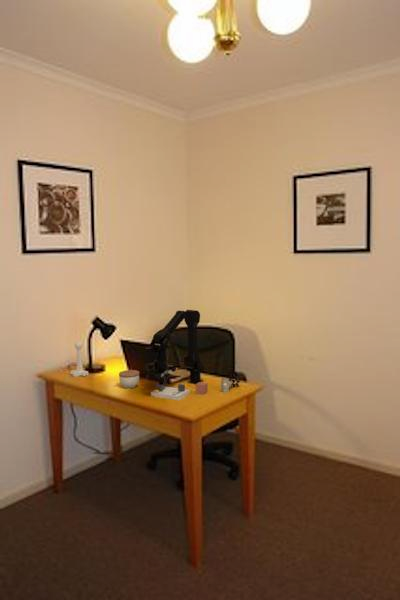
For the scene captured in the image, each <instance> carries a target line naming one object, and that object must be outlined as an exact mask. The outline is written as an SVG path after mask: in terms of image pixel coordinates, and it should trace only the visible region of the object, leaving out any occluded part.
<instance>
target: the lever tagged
mask: <svg viewBox="0 0 400 600" xmlns="http://www.w3.org/2000/svg"><path fill="white" fill-rule="evenodd" d="M155 386H156V387H155V388H156V389H155V390H159V391H163V385H162V384H159V383H157V384H156V385H155Z"/></svg>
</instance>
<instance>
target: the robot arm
mask: <svg viewBox="0 0 400 600" xmlns="http://www.w3.org/2000/svg"><path fill="white" fill-rule="evenodd" d="M200 320H201V313H200V311H198V310H195V309H186V310H177V311H175V314H174V315H173V316H172V317H171V319H170V320H169V321H168V322H167V324H165V326H164V327H163V328H162V329H160V330H158V331H156V333H154V334H153V336H152V339H151V342H150V343H149V345H148V347H145V348H144V351H143V352H142V355H141V356H142V357H141V358H142V360H143V361H144V362H146V363H145V364H144V370H145V371H147V374H146V379H148V380H155V381H156V380H157V381H158V384H162V385H163V388H164V386H165V387H166V384H167V381H168V379H169V377H170V375H171V373H168V372H169V371H171V372H173V373H175V371H176V370H177V367H176V365H173V364H168V363H169V361H170V359H168V349H171V346H170V345H168V344H169V342H170V341H171V338H172V335H173V333H174V332H175V330H176V329H177V328H178V327H179V325H180V324H181V323H182V322H183V321H184V323H185V324H186V327H187V354H186V355H184V356H183V364H184V367H185V369H186V371H188V372H189V380H188V381H187V383H191V384H195V385H196V384H197V383H199V382H204V379H202V378H201V377H202V374H201V373H203V372H204V371H205V366H204V365H203V364H202V363H201V357H200V355H199V354H198V328H197V327H198V325H199V323H200Z"/></svg>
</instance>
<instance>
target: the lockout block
mask: <svg viewBox="0 0 400 600" xmlns="http://www.w3.org/2000/svg"><path fill="white" fill-rule="evenodd" d="M208 392H209V391H208V382H204V381H202V382H199V383H197V384H196V383H195V394H196V395H201V396H202V395H203V396H205V395H206V394H208Z"/></svg>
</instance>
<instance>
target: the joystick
mask: <svg viewBox="0 0 400 600" xmlns="http://www.w3.org/2000/svg"><path fill="white" fill-rule="evenodd" d="M74 348H75V349H76V369H72V370H70V371H69V373H70V375H72V377H73V378H78V377H80V376H82V377H86V376H87V377H88V376H89V371H88V370H84V369H83V359H82V358H83V357H82V348H83V342H81V341H78V340H77V341H76V342H75V343H74Z"/></svg>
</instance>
